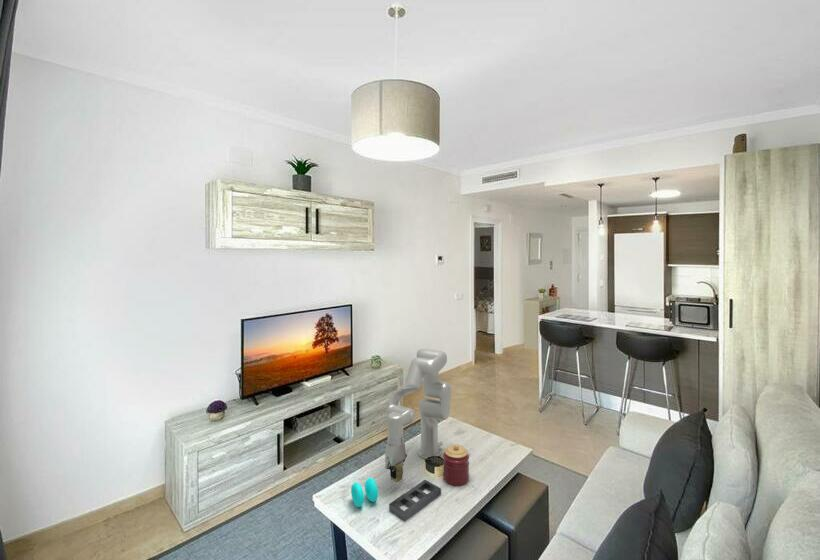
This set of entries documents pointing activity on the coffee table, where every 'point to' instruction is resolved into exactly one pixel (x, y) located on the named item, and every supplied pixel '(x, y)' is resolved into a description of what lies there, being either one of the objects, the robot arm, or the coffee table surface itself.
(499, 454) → the coffee table surface
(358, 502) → the donuts
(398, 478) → the brass peg
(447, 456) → the canister
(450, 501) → the coffee table surface
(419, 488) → the grey flat slotted block
